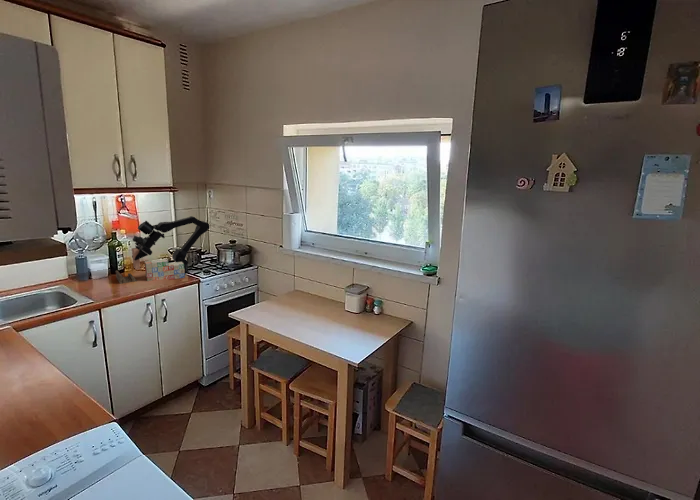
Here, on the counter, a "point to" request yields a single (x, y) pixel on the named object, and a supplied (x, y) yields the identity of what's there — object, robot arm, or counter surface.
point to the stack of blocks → (163, 270)
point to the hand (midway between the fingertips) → (133, 258)
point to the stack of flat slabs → (124, 278)
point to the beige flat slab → (135, 262)
